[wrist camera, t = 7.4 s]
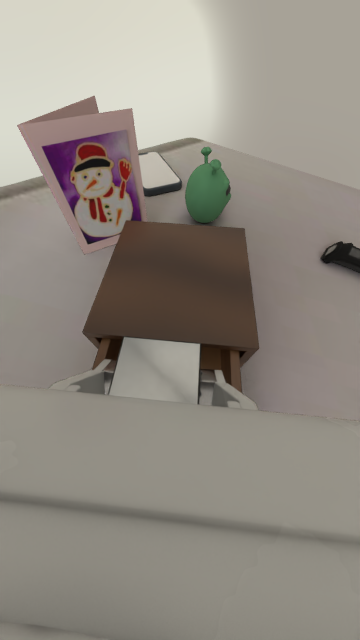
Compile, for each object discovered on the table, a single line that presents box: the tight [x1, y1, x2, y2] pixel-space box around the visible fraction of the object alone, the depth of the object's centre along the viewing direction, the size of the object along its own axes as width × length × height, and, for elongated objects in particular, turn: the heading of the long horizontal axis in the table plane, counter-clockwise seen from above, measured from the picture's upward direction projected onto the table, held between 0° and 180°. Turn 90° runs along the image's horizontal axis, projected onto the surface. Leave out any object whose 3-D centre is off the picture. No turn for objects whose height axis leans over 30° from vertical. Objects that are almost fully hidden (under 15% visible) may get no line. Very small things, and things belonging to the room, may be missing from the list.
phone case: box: [138, 152, 182, 196], centre depth 43 cm, size 9×2×16 cm
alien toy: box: [185, 147, 231, 223], centre depth 32 cm, size 7×8×10 cm
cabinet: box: [82, 220, 259, 368], centre depth 23 cm, size 16×15×7 cm
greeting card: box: [17, 96, 148, 255], centre depth 27 cm, size 11×7×15 cm, turn 120°
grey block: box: [108, 336, 201, 404], centre depth 14 cm, size 4×4×10 cm
